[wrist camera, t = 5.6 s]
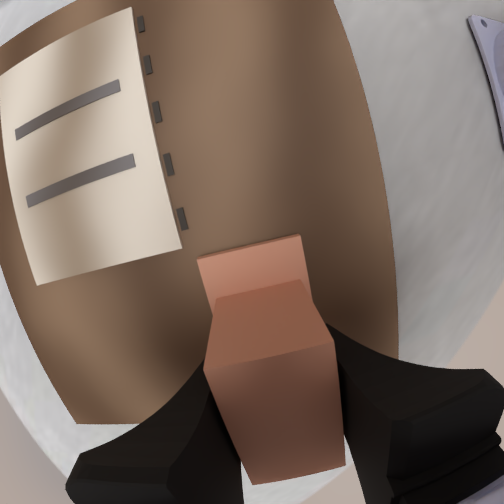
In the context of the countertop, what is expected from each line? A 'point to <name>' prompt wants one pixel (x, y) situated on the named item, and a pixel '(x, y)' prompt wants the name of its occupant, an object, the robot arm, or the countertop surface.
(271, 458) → the salmon block with base
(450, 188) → the countertop surface
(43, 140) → the ticket board
